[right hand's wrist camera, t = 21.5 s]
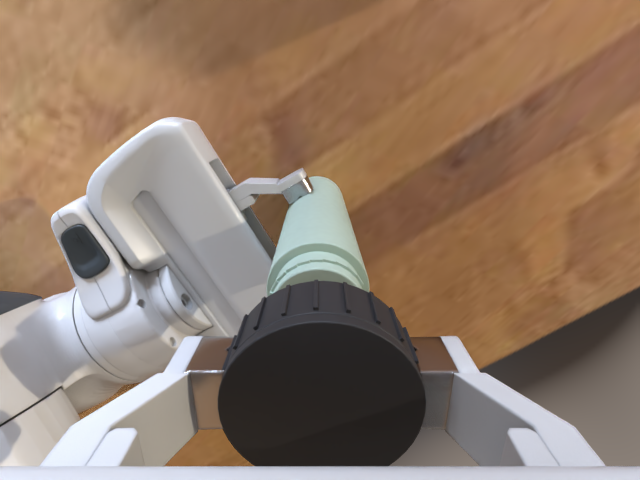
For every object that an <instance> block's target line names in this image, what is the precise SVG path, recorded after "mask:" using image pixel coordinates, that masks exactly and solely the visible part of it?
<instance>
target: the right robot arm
mask: <svg viewBox="0 0 640 480" xmlns="http://www.w3.org/2000/svg"><path fill="white" fill-rule="evenodd" d="M233 338H234V337H222V336H187V337H185V338H184V339H183V340H182V342H181V344H180V345H179V347H178V349H177V351H176V352H175V354H174V356H173V357H172V359H171V361H170V362H169V364H168V366H167V367H166V369H165V371H164V372H163V373H157V374H155V375H154V376H152V377H151V378H149V379H147V380H146V381H144V382H142V383H141V384H139V385H137V386H136V387H134V388H132V389H131V390H129V391H127V392H126V393H124V394H123V395H121V396H119V397H118V398H116V399H114V400H113V401H111V402H109V403H108V404H106V405H104V406H103V407H101V408H100V409H98V410H96V411H95V412H93V413H91V414H90V415H88V416H86V417H85V418H83V419H81V420H80V421H78V422H76V423H75V424H73V425H72V426H70V427H69V429H68V430H67V431H66V432H65V434H64V435H63V436H62V437H61V439H60V440H59V441H58V443H57V444H56V445H55V446H54V448H53V449H52V450H51V451H50V453H49V454H48V455H47V457H46V458H45V459H44V460H43V462H42V463H41V464H40V465H39V466H0V480H640V466H606V465H605V464H604V463H603V462H602V460H601V459H600V458H599V457H598V455H597V454H596V453H595V452H594V450H593V449H592V448H591V447H590V445H589V444H588V443H587V442H586V440H585V439H584V438H583V437H582V435H581V434H580V433H579V432H578V430H577V429H576V428H575V427H574V426H573V425H571V424H569V423H568V422H566V421H564V420H563V419H561V418H559V417H558V416H556V415H554V414H553V413H551V412H549V411H548V410H546V409H544V408H543V407H541V406H539V405H538V404H536V403H534V402H533V401H531V400H529V399H528V398H526V397H525V396H523V395H521V394H520V393H518V392H516V391H515V390H513V389H511V388H510V387H508V386H506V385H505V384H503V383H501V382H500V381H498V380H496V379H495V378H493V377H491V376H490V375H488V374H487V373H480V371H479V370H478V368H477V367H476V365H475V363H474V362H473V360H472V358H471V357H470V355H469V354H468V352H467V350H466V349H465V347H464V345H463V344H462V342H461V341H460V339H459V338H458V337H457V336H439V337H410V340H411V342H412V345H413V347H414V350H415V353H416V355H417V358H418V360H419V364H417V367H418V370H419V372H420V375H421V378H422V381H423V384H424V388H425V394H426V412H425V416H424V421H423V424H422V427H421V429H445V431H446V432H447V433H448V434H449V435H450V436H451V437H452V438H453V439H454V440H455V441H456V442H457V443H458V444H459V445H460V446H461V447H462V448H463V449H464V450H465V451H466V452H467V453H468V454H469V455H470V456H471V457H472V458H473V459H474V461H476V463H477V464H479V466H164V465H165V464H166V463H167V462H168V461H169V460H170V459H171V458H172V457H173V456H174V455H175V454H176V453H177V452H178V451H179V450H180V449H181V448H182V447H183V446H184V445H185V444H186V443H187V442H188V441H189V440H190V439H191V438H192V437H193V436H194V435H195V434H196V433H197V432H198V429H223V428H222V425H221V422H220V419H219V413H218V392H219V386H220V383H221V380H222V377H223V374H224V372H225V370H222V367H223V365H224V362H225V359H226V357H227V354H228V351H229V349H230V346H231V343H232V341H233Z"/></svg>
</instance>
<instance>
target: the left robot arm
mask: <svg viewBox="0 0 640 480" xmlns="http://www.w3.org/2000/svg"><path fill="white" fill-rule="evenodd" d="M312 191H313V185H312V183H311V182H310V180H309V178H308V176H307V175H306V172H305V171H304V169H303V168H301V169H299V170H297V171H295V172H293V173H291V174H290V175H288V176H286V177H284V178H282V179H281V180H279V178H249V179H247V180H245V181H243V182H242V183H240V184H238V185H236V183H235V182H234V180H233V179H232V177H231V176H230V174H229V172H228V171H227V169H226V168H225V166H224V165H223V163H222V161H221V160H220V158H219V157H218V155H217V153H216V152H215V150H214V149H213V147H212V146H211V144H210V142H209V141H208V139H207V138H206V136H205V135H204V133H203V131H202V130H201V128H200V127H199V125H198V124H197V123H196V122H194V121H192V120H188V119H184V118H178V117H169V118H164V119H161V120H158V121H156V122H154V123H153V124H151V125H150V126H148V127H146V128H145V129H144V130H142V131H141V132H139V133H138V134H136V135H135V136H134V137H132V138H131V139H130V140H129V141H127V142H126V143H125V144H124V145H122V146H121V147H120V148H119V149H117V150H116V151H115V152H114V153H113V154H112V155H111V156H110V157H108V158H107V159H106V160H105V161H104V162H103V163H102V164H101V165H100V166H99V167H98V168H97V169H96V171H95V172H94V173H93V175H92V176H91V178H90V180H89V182H88V185H87V191H86V195H85V196H83V197H81V198H79V199H77V200H75V201H73V202H71V203H69V204H68V205H66V206H64V207H63V208H61V209H60V210H58V211H57V212H56V213H54V214H53V216H52V218H51V226H52V230H53V232H54V234H55V237H56V239H57V241H58V243H59V245H60V247H61V250H62V252H63V254H64V256H65V259H66V261H67V263H68V266H69V268H70V271H71V273H72V276H73V279H74V282H75V285H76V286H75V287H74V288H73V289H72V290H71V291H69V292H65V293H60V294H56V295H53V296H51V297H49V298H46V299H44V300H42V297H40V296H36V295H32V294H26V293H18V292H7V291H0V466H39V465H40V464H41V463H42V462H43V460H44V459H45V458H46V457H47V455H48V454H49V453H50V451H51V450H52V449H53V448H54V446H55V445H56V444H57V443H58V441H59V440H60V439H61V437H62V436H63V435H64V434H65V432H66V431H67V430H68V429H69V427H70V426H72V425H73V424H75V423H76V422H78V421H80V420H81V419H80V417H79V415H78V413H81V412H83V411H85V410H87V409H89V408H92V407H94V406H96V405H98V404H100V403H102V402H104V401H105V400H107V399H108V398H110V397H111V396H113V395H114V394H115V393H116V392H117V391H118V390H119V389H120V388H121V387H122V386H124V385H128V384H135V383H139V382H143V381H145V380H147V379H149V378H151V377H152V376H154V375H155V374H157V373H162V372H164V371H165V369H166V367H167V366H168V364H169V362H170V361H171V359H172V357H173V356H174V354H175V352H176V351H177V349H178V347H179V345H180V344H181V342H182V340H183V339H184V338H185V337H187V336H222V337H234V335H237V334H238V331H239V329H240V326H241V323H242V320H243V318H244V316H245V314H247V315H249V313H250V312H251V311H252V310H253V309H254V308H255V307H256V306H257V305H258V304H259V303H260V302H261V300H262V298H263V297H264V296H265V297H267V290H266V286H267V279H268V275H269V272H270V269H271V265H272V262H273V258H274V255H275V252H276V247H275V245H274V243H273V242H272V240H271V239H270V237H269V236H268V234H267V232H266V231H265V229H264V228H263V226H262V224H261V223H260V221H259V220H258V218H257V217H256V215H255V213H254V212H253V210H252V209H251V207H250V205H252V204H254V203H255V202H256V200H257V199H258V197H259V195H260V194H283V195H284V197H285V198H286V200H287V202H288V203H289V204H291V203H293V202H295V201H297V200H298V199H299V197H300V196H305V195H307V194H309V193H311V192H312Z"/></svg>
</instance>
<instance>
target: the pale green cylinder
mask: <svg viewBox="0 0 640 480" xmlns="http://www.w3.org/2000/svg"><path fill="white" fill-rule="evenodd" d="M309 180H310V182H311V183H312V185H313V191H312V192H311V193H309V194H307V195H305V196H300V197H299V199H298V200H297V201H295V202H293V203H291V204H289V207H288V211H287V214H286V218H285V221H284V224H283V228H282V231H281V235H280V238H279V241H278V245H277V248H276V252H275V255H274V258H273V262H272V265H271V269H270V272H269V275H268V279H267V286H266V290H267V297H268V296H270V295H271V294H273V293H275V292H276V291H279V290H281V289H283V288H286V285H289V284H290V286H291V285H295V284H298V283H304V282H310V281H314V280H318V281H333V282H340V283H343V282H347V284H349V285H352V286H355V287H358V288H360V289H362V290H364V291H367V292H369V280H368V276H367V273H366V269H365V266H364V263H363V260H362V257H361V253H360V250H359V247H358V244H357V241H356V238H355V234H354V231H353V228H352V225H351V222H350V218H349V215H348V212H347V209H346V206H345V203H344V199H343V196H342V193H341V191H340V189H339V187H338V186H337V185H336V184H335V183H334V182H333V181H331V180H330V179H328V178H325V177H320V176H314V177H309Z"/></svg>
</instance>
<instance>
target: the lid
mask: <svg viewBox="0 0 640 480" xmlns="http://www.w3.org/2000/svg"><path fill="white" fill-rule="evenodd" d="M417 364H419V360H418V358H417V355H416V353H415V350H414V347H413V345H412V342H411V340H410V337H409V334H408V332H407V329H406V327H404V328H402V326H401V323H400V322H399V320H398V319H397V317H396V315H395V312H394V309H393V308H392V307H390V308H389V307H388V306H387V305H386V304H384V303H383V302H382V301H381V300H380V299H378V298H377V297H375V296H374V294H373V293H372V292H371V291H370V292H367V291H364V290H362V289H360V288H358V287H355V286H352V285H349V284H347V282H343V283H340V282H333V281H318V280H314V281H310V282H304V283H298V284H295V285H291V286H290V284H289V285H286V288H283V289H281V290H279V291H276V292H275V293H273V294H271V295H270V296H268V297H265V296H264V297H263V298H262V300H261V302H260V303H259V304H258V305H257V306H256V307H255V308H254V309H253V310H252V311H251V312H250V313H249V315H247V314H245V316H244V318H243V320H242V323H241V326H240V329H239V331H238V334H237V335H234V338H233V341H232V343H231V346H230V349H229V351H228V354H227V357H226V359H225V362H224V365H223V367H222V370H225V372H224V374H223V377H222V380H221V383H220V386H219V392H218V413H219V419H220V422H221V425H222V428H223V430H224V432H225V434H226V436H227V438H228V440H229V441H230V442H231V444H232V445H233V447H234V448H235V449H236V450H237V451H238V452H239V453H240V454H241V455H242V456H243V457H244V458H245V459H246V460H248V461H249V462H250V463H251V464H253V465H254V466H389V465H390V464H392V463H393V462H395V461H396V460H397V459H398V458H400V457H401V456H402V455H403V454H404V453H405V452H406V451H407V450H408V448H409V447H410V446H411V445H412V443H413V442H414V440H415V439H416V437H417V435H418V434H419V431H420V429H421V427H422V424H423V421H424V416H425V412H426V394H425V388H424V384H423V381H422V378H421V375H420V372H419V370H418V367H417Z"/></svg>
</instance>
